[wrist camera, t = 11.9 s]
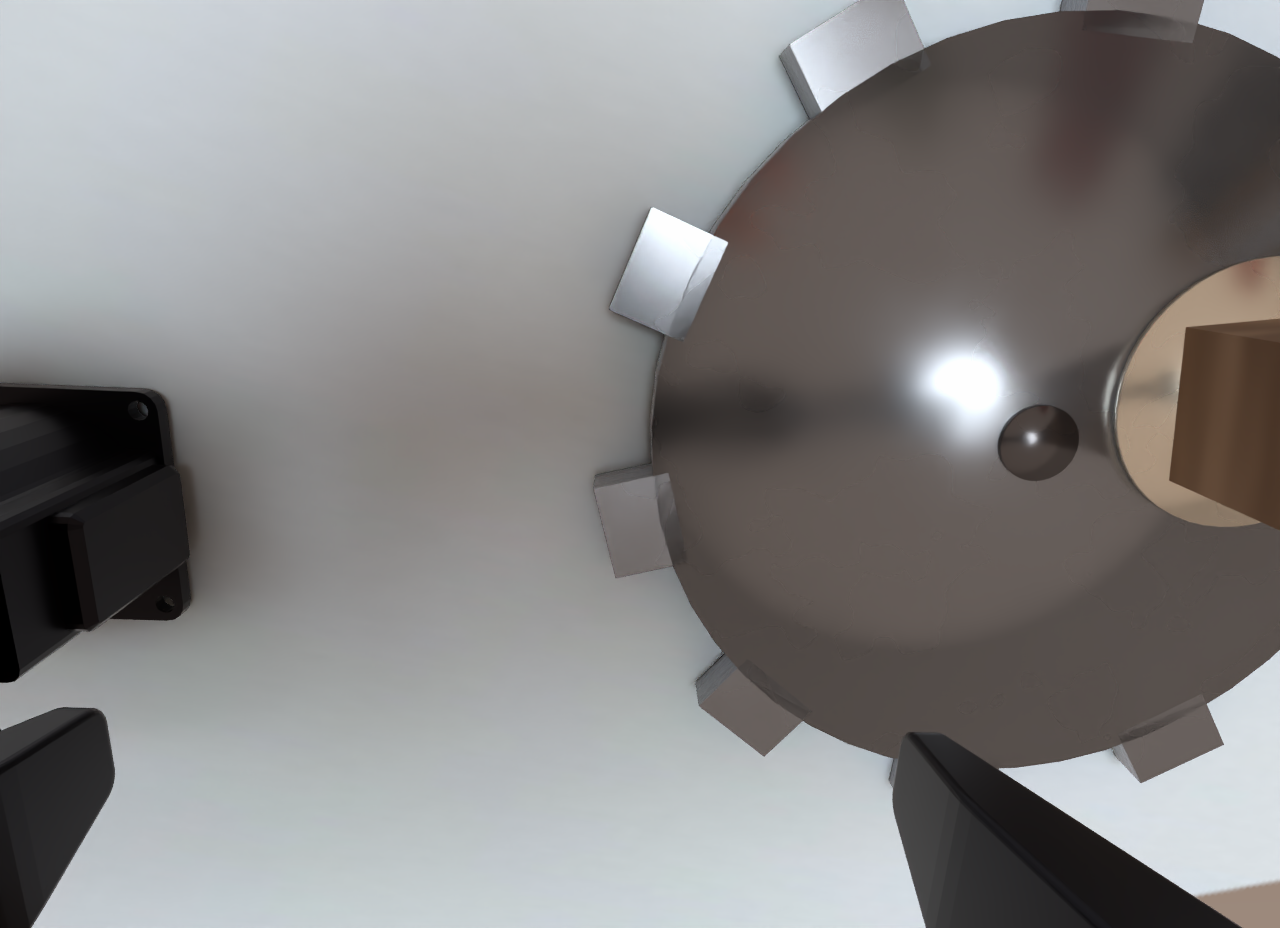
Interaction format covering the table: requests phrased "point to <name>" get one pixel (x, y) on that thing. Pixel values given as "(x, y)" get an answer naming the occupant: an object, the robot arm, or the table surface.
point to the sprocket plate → (967, 390)
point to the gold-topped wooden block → (1231, 417)
